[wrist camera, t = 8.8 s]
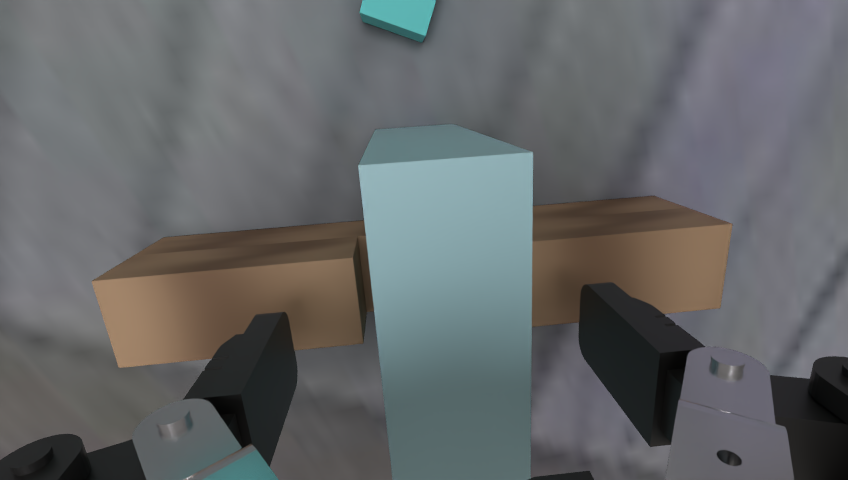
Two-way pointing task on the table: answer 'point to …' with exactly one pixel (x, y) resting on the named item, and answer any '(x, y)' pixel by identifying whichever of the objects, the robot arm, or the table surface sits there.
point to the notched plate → (452, 299)
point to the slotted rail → (351, 283)
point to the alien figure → (399, 16)
